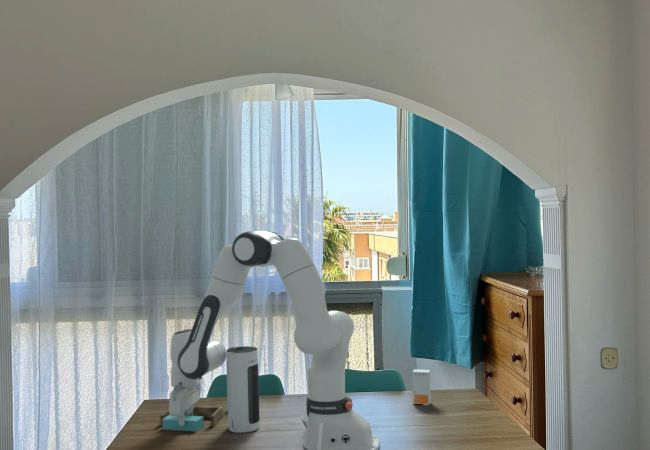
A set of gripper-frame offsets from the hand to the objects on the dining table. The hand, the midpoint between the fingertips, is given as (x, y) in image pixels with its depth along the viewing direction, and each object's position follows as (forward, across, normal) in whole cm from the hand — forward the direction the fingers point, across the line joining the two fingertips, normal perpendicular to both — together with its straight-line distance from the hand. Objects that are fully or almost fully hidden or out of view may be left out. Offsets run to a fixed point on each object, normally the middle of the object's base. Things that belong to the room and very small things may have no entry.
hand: (185, 421), depth 210 cm
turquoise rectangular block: (+2, 0, +1) cm, 2 cm away
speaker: (+2, +1, -19) cm, 19 cm away
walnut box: (+2, +7, 0) cm, 7 cm away
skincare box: (+2, +33, -77) cm, 83 cm away
